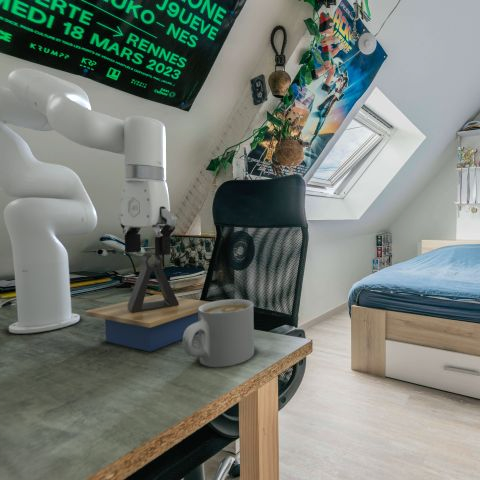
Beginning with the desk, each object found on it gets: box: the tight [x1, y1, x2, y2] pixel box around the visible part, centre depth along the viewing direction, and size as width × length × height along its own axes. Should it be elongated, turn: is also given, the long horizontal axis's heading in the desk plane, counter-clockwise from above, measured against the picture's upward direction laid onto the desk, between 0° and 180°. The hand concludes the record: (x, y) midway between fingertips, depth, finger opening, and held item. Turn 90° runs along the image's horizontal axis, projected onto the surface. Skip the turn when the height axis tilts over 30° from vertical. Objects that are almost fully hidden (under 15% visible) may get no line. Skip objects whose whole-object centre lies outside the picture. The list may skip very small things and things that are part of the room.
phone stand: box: [127, 251, 179, 313], centre depth 72 cm, size 9×6×12 cm, turn 132°
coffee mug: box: [182, 298, 255, 368], centre depth 62 cm, size 13×10×10 cm
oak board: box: [85, 294, 211, 328], centre depth 72 cm, size 20×16×1 cm
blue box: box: [104, 312, 199, 353], centre depth 73 cm, size 14×12×6 cm
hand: (147, 253), depth 72 cm, fingers open, 9 cm apart
